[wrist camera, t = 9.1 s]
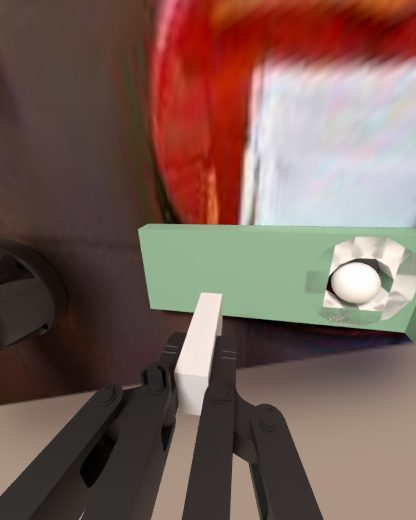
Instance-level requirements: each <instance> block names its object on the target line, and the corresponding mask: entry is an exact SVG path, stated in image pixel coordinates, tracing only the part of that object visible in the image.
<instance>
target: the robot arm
mask: <svg viewBox="0 0 416 520" xmlns="http://www.w3.org/2000/svg"><path fill="white" fill-rule="evenodd" d="M67 306H68V302H67V295H66V291H65V288H64V286H63V284H62V282H61V280H60V278H59V276H58V275H57V273H56V272H55V271H54V269H53V268H52V267H51V266H50V265H49V263H48V262H47V261H46V260H45V259H43V258H42V257H41V256H40V255H39V254H38V253H36V252H35V251H33V250H32V249H30V248H29V247H27V246H25V245H23V244H21V243H18V242H15V241H11V240H5V239H0V352H1V351H3V350H5V349H8V348H10V347H13V346H15V345H17V344H20V343H22V342H25V341H27V340H29V339H32V338H34V337H37V336H39V335H41V334H44V333H46V332H47V331H49V330H50V329H52V328H53V327H54V326H55V325H57V324H58V323H59V322H60V321H61V320H62V319H63V318H64V316H65V314H66V312H67ZM221 330H222V294H217V293H201V295H200V298H199V301H198V304H197V307H196V310H195V313H194V315H193V318H192V321H191V324H190V327H189V330H188V333H179V332H175V333H174V334H173V335H172V336H171V337H170V338H169V339H168V342H167V344H166V347H165V348H164V351H163V353H162V355H161V358H160V360H159V362H158V363H152V364H149V365H147V366H146V367H145V368H143V370H142V371H141V372H140V377H141V382H142V386H139V387H136V388H131V389H126V390H122V387H121V386H119V385H117V384H109V385H106V386H104V387H102V388H101V389H99V390H98V391H97V392H96V393H95V394H94V395H93V396H92V397H91V398H90V399H89V401H88V402H87V403H86V404H85V405H84V406H83V407H82V408H81V409H80V410H79V411H78V412H77V414H76V415H75V416H74V417H73V418H72V419H71V420H70V421H69V422H68V423H67V424H66V426H65V427H64V428H63V429H62V430H61V431H60V432H59V433H58V434H57V435H56V436H55V437H54V439H53V440H52V441H51V442H50V443H49V444H48V445H47V446H46V447H45V448H44V449H43V451H42V452H41V453H40V454H39V455H38V456H37V457H36V458H35V459H34V460H33V461H32V462H31V464H30V465H29V466H28V467H27V468H26V469H25V470H24V471H23V472H22V474H21V475H20V476H19V477H18V478H17V479H16V480H15V481H14V482H13V483H12V484H11V485H10V487H8V489H7V490H6V491H5V492H4V493H3V494H2V495H1V496H0V520H79V518H80V517H81V515H82V513H83V512H84V514H83V516H82V518H81V520H151V517H152V513H153V509H154V505H155V501H156V498H157V494H158V490H159V486H160V482H161V479H162V475H163V471H164V467H165V464H166V460H167V456H168V452H169V448H170V444H171V441H172V437H173V433H174V429H175V424H176V418H175V415H176V412H177V408H178V409H179V412H180V413H187V414H193V415H199V416H200V421H199V426H198V432H197V437H196V443H195V449H194V455H193V460H192V465H191V471H190V477H189V482H188V488H187V493H186V499H185V505H184V511H183V515H182V520H230V503H231V501H230V500H231V480H232V457H233V453H234V454H236V455H237V456H239V457H241V458H242V459H244V460H245V461H247V462H249V468H250V472H251V478H252V482H253V487H254V492H255V497H256V502H257V507H258V511H259V517H260V520H323V517H322V515H321V512H320V509H319V507H318V504H317V502H316V499H315V496H314V494H313V491H312V489H311V486H310V483H309V481H308V478H307V476H306V473H305V470H304V468H303V465H302V463H301V460H300V458H299V455H298V452H297V450H296V447H295V444H294V442H293V439H292V436H291V434H290V431H289V429H288V426H287V423H286V421H285V419H284V417H283V415H282V414H281V412H280V411H279V410H278V409H277V408H276V407H274V406H272V405H269V404H261V405H257V406H254V405H252V404H250V403H248V402H246V401H245V400H243V399H242V398H241V397H240V396H239V394H238V393H237V390H236V385H235V383H236V358H237V343H236V341H235V339H234V337H228V336H221ZM84 510H85V511H84Z"/></svg>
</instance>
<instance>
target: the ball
mask: <svg viewBox="0 0 416 520" xmlns="http://www.w3.org/2000/svg"><path fill="white" fill-rule="evenodd" d="M331 286H332V289H333V291H334V292H335V293H336V295H337V296H338V297H340V298H341V299H343V300H345V301H347V302H351V303H364V302H367V301H370V300H371V299H373V298H374V297H375V296H376V295H377V294H378V292H379V291H380V287H381V280H380V277H379V275H378V273H377V272H376V271H375V270H374V269H373V268H372V267H370V266H369V265H367V264H364V263H360V262H349V263H345V264H343V265H341V266H339V267H338V268H337V269H336V270H335V271H334V272H333V274H332V277H331Z"/></svg>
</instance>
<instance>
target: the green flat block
mask: <svg viewBox="0 0 416 520" xmlns="http://www.w3.org/2000/svg"><path fill="white" fill-rule="evenodd" d="M138 232H139V238H140V244H141V251H142V257H143V263H144V269H145V276H146V282H147V288H148V295H149V301H150V307H151V309H162V310H172V311H183V312H193V313H195V310H196V307H197V304H198V301H199V298H200V295H201V293H217V294H222V315H225V316H236V317H246V318H257V319H267V320H278V321H288V322H299V323H310V324H320V325H331V326H341V327H352V328H362V329H373V330H384V331H394V332H405V333H406V335H407V336H408V337H409V338H410V339H411V340H412V341H413V342H414V343H415V344H416V228H384V227H320V226H255V225H191V224H147V225H145V226H143V227H142V228H140V229H138ZM356 258H371V259H376V261H377V264H378V266H379V272H378V275H379V277H380V280H381V287H380V291H379V292H378V294H377V295H376V296H375V297H374V298H373V299H371V300H370V301H367V302H364V303H351V302H347V301H345V300H343V299H341V298H340V297H338V296H337V295H334V294H332V293H331V292H329V291H327V290H326V287H327V283H328V278H329V276H330V275H331V274H332V273H333V271H334V270H335V269H336V268H337V267H338V266H339V265H340V264H343V263H345V262H348V261H351V260H353V259H356Z"/></svg>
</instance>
